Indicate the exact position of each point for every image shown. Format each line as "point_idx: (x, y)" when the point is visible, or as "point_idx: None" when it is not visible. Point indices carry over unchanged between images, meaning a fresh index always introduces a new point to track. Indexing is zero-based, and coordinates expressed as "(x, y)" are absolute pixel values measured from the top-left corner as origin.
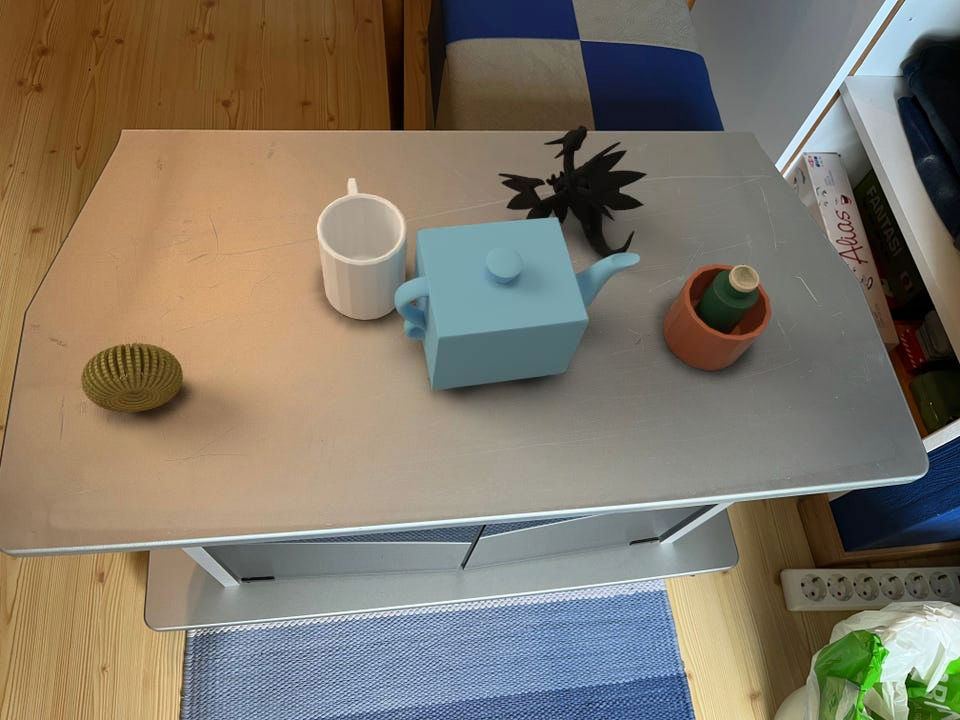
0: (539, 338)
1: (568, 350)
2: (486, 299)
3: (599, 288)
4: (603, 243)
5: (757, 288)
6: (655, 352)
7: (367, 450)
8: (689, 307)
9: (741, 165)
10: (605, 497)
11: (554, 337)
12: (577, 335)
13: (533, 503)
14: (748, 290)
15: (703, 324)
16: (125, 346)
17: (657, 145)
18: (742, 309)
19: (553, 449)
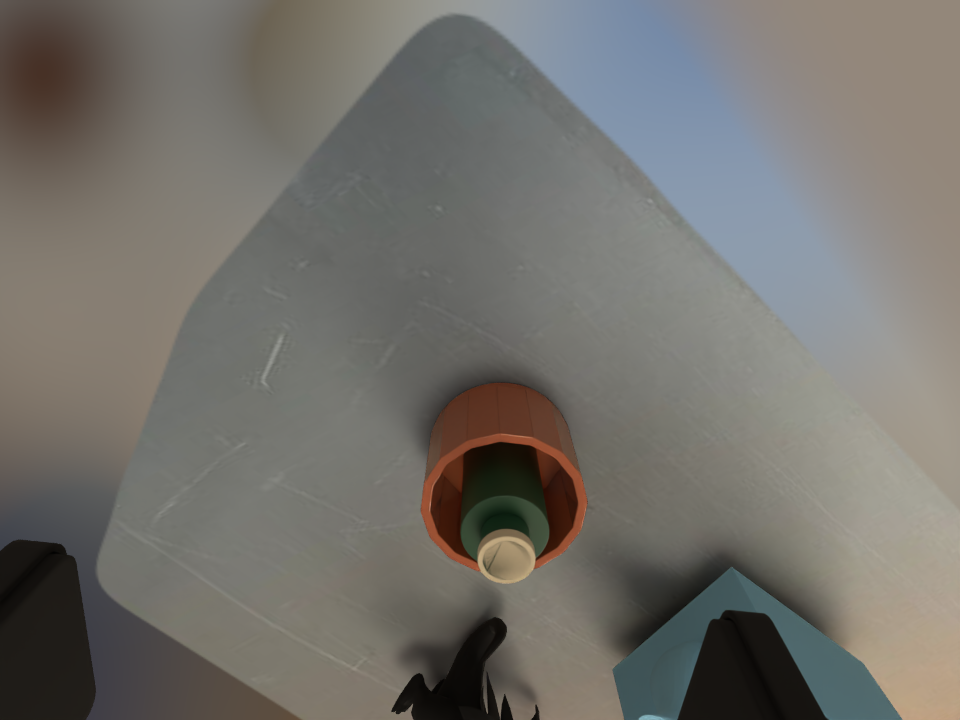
0: (837, 702)
1: None
2: None
3: None
4: (486, 640)
5: (474, 507)
6: (584, 480)
7: (955, 650)
8: (566, 545)
9: (144, 565)
10: (856, 408)
11: (818, 687)
12: None
13: (918, 475)
14: (525, 538)
15: (580, 513)
16: None
17: (237, 668)
18: (535, 502)
19: (827, 499)
